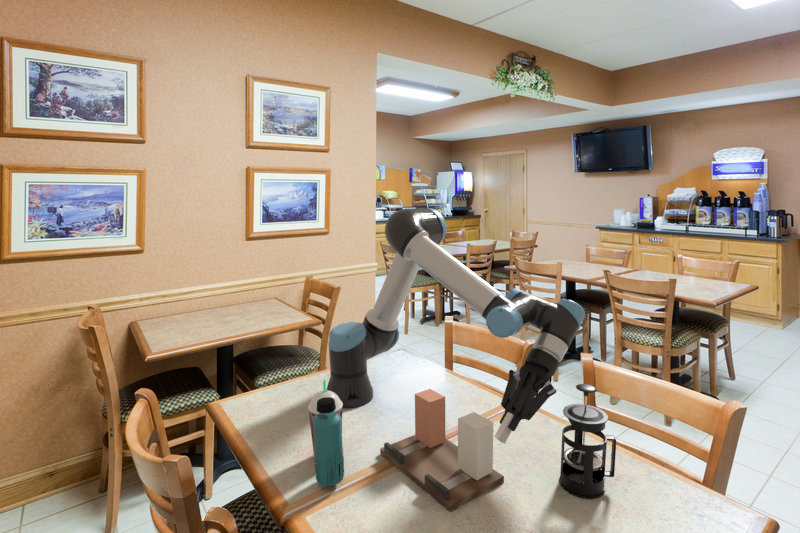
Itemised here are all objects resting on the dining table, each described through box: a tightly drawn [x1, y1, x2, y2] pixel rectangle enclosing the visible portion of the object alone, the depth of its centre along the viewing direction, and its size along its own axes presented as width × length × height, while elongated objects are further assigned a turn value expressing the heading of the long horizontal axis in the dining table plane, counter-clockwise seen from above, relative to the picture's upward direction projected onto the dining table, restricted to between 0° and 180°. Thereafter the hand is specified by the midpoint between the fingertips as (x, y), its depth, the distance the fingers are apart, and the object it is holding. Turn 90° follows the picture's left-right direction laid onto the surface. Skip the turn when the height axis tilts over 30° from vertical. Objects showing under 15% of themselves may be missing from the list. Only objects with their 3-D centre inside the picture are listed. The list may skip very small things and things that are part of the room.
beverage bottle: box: [313, 397, 345, 487], centre depth 99 cm, size 6×7×20 cm
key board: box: [379, 434, 505, 513], centre depth 106 cm, size 16×26×4 cm, turn 35°
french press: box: [558, 383, 617, 500], centre depth 97 cm, size 12×9×23 cm
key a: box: [457, 411, 494, 480], centre depth 100 cm, size 5×6×12 cm
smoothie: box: [307, 379, 344, 457], centre depth 109 cm, size 8×8×20 cm
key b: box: [414, 388, 446, 448], centre depth 113 cm, size 5×6×12 cm
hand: (499, 439), depth 104 cm, fingers closed
